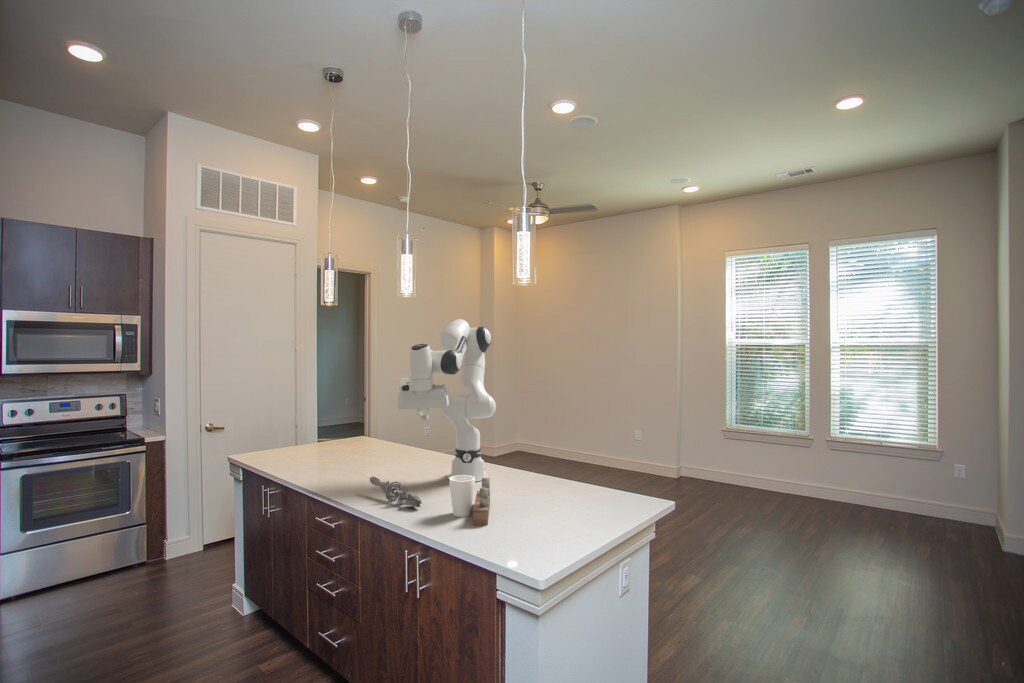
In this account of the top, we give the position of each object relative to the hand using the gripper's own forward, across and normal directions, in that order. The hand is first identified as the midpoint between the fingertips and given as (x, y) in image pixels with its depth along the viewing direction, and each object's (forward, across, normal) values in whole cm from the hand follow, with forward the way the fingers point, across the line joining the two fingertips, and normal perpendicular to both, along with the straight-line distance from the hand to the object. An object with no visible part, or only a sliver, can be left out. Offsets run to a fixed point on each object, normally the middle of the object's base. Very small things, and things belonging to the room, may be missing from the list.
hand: (424, 419), depth 203 cm
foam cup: (+32, -17, +18) cm, 40 cm away
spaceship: (+32, +13, +5) cm, 35 cm away
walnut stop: (+32, -24, +16) cm, 43 cm away
